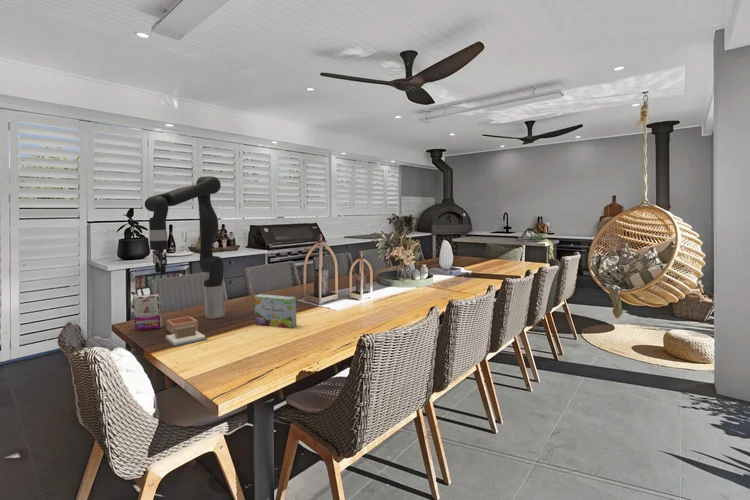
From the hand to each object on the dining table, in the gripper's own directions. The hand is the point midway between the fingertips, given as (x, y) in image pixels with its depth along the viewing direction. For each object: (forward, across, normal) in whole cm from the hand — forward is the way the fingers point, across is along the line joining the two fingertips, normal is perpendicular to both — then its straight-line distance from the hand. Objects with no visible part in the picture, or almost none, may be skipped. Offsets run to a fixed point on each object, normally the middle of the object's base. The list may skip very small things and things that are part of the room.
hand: (160, 273), depth 195 cm
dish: (+28, -5, -7) cm, 29 cm away
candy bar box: (+28, +10, +4) cm, 30 cm away
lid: (+28, -20, -4) cm, 34 cm away
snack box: (+28, -27, -45) cm, 60 cm away
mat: (+28, -20, -4) cm, 35 cm away
